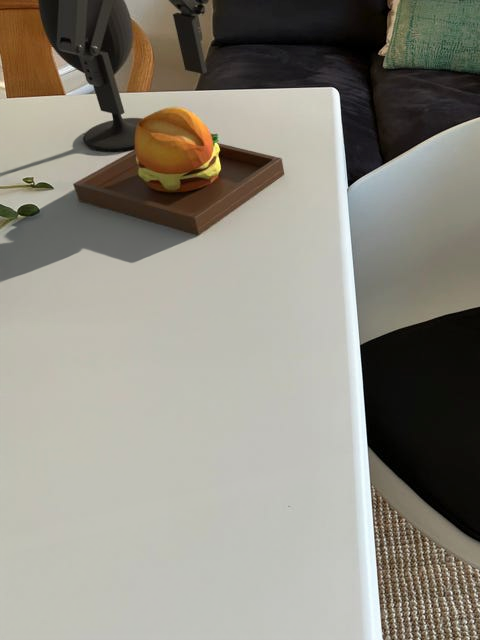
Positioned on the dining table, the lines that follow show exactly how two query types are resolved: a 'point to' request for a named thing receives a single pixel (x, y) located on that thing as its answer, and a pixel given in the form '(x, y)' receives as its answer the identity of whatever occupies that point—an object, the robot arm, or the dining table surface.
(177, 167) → the cheeseburger
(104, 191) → the tray
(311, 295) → the dining table surface
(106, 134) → the wine glass
